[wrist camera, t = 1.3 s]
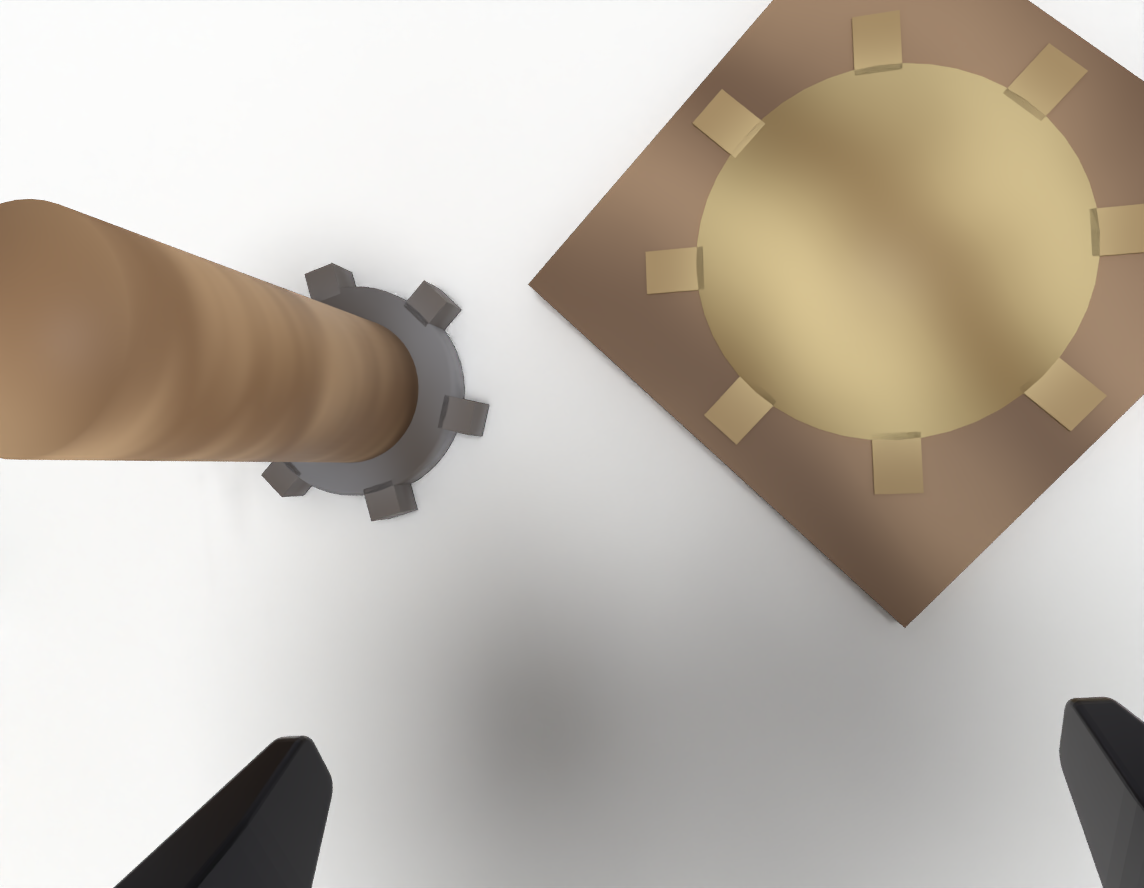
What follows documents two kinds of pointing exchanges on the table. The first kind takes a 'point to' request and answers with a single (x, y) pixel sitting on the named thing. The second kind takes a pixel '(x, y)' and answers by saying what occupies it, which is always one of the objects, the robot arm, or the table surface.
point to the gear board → (883, 272)
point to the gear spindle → (219, 363)
